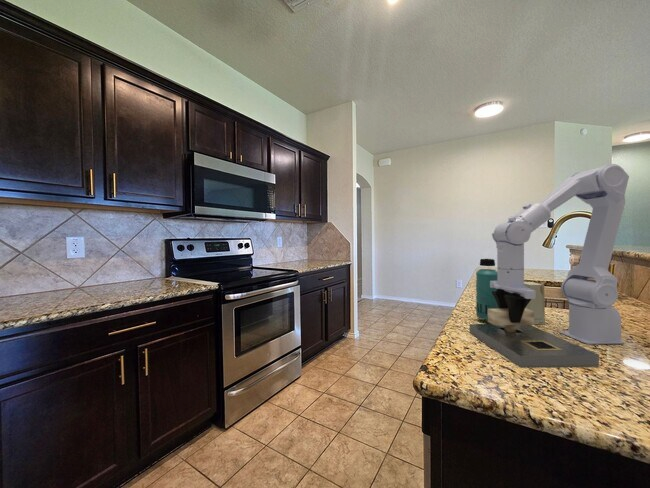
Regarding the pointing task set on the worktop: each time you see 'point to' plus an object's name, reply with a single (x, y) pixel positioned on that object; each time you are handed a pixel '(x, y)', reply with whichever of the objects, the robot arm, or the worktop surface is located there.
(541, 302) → the skincare box
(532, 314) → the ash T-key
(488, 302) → the beverage bottle
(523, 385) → the worktop surface
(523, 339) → the charcoal cover panel
